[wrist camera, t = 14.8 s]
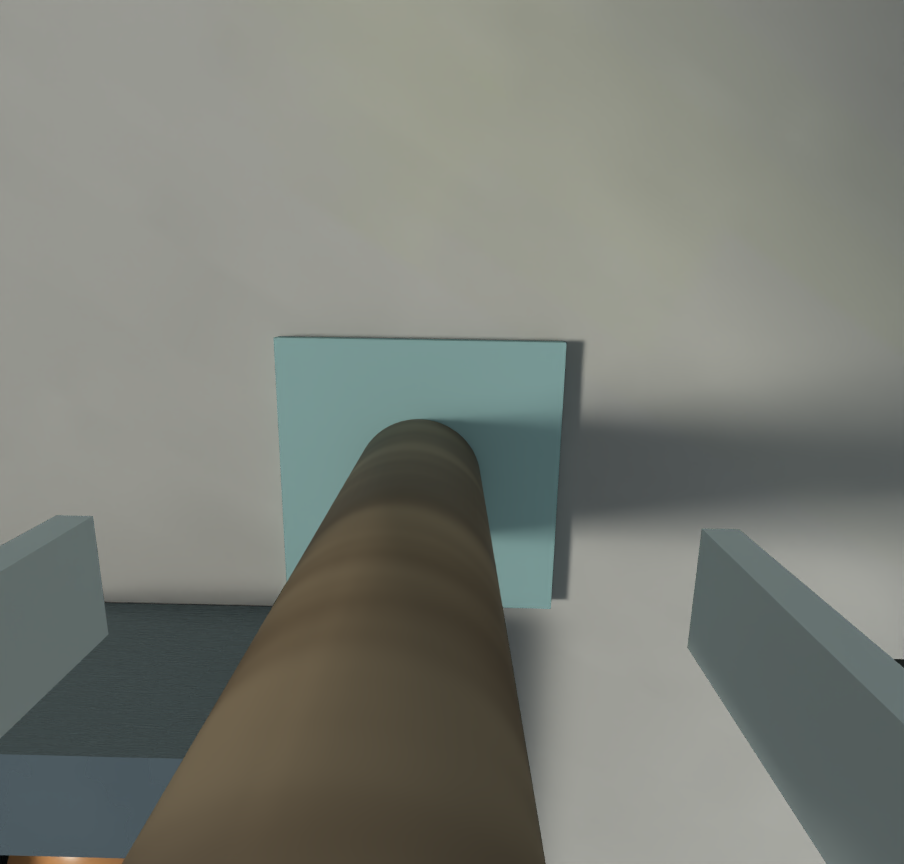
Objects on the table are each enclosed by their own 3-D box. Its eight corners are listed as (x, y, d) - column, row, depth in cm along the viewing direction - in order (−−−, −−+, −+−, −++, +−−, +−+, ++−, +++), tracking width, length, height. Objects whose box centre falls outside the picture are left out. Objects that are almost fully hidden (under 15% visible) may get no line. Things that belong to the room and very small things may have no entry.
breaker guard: (-28, 599, 21) (-266, 747, 14) (335, 608, 21) (273, 761, 14) (26, 889, 24) (-148, 1127, 17) (344, 898, 24) (298, 1141, 17)
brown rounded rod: (355, 418, 18) (-166, 1055, 3) (482, 419, 18) (648, 1063, 3) (358, 536, 19) (-29, 1518, 4) (478, 538, 19) (593, 1523, 4)
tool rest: (279, 336, 19) (273, 337, 18) (563, 341, 18) (566, 342, 18) (292, 594, 21) (287, 602, 20) (548, 599, 21) (550, 608, 20)
